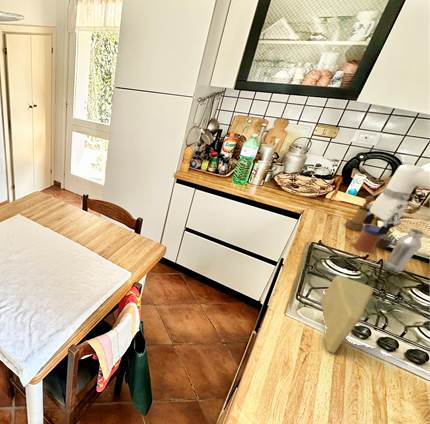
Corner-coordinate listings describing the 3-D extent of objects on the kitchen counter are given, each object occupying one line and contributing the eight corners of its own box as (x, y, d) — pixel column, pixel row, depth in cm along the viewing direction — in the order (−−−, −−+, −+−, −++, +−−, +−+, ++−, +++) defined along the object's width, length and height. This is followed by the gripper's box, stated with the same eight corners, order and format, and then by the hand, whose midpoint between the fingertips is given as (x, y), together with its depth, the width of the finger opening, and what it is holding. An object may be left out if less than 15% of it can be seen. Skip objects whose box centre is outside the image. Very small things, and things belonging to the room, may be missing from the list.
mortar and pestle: (365, 231, 156) (384, 199, 147) (352, 230, 156) (370, 199, 147) (354, 224, 161) (371, 193, 153) (341, 224, 161) (358, 193, 153)
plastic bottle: (393, 268, 129) (422, 228, 119) (403, 278, 123) (434, 237, 114) (374, 265, 131) (401, 225, 121) (383, 275, 125) (412, 234, 116)
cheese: (351, 363, 90) (378, 328, 83) (310, 343, 96) (332, 309, 88) (352, 319, 105) (375, 286, 97) (317, 304, 110) (336, 272, 103)
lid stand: (386, 245, 144) (391, 237, 142) (388, 249, 141) (393, 241, 139) (373, 242, 147) (378, 234, 145) (374, 246, 144) (379, 238, 141)
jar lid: (382, 231, 138) (383, 228, 137) (384, 237, 133) (386, 234, 133) (362, 226, 142) (364, 223, 141) (363, 232, 137) (365, 229, 136)
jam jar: (371, 247, 143) (383, 228, 138) (373, 254, 138) (385, 235, 133) (352, 242, 146) (363, 224, 141) (354, 248, 141) (365, 230, 136)
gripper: (424, 204, 121) (399, 240, 129) (388, 186, 136) (367, 219, 144) (403, 202, 121) (379, 238, 130) (370, 184, 136) (350, 218, 145)
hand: (373, 228), depth 137 cm, fingers open, 8 cm apart
